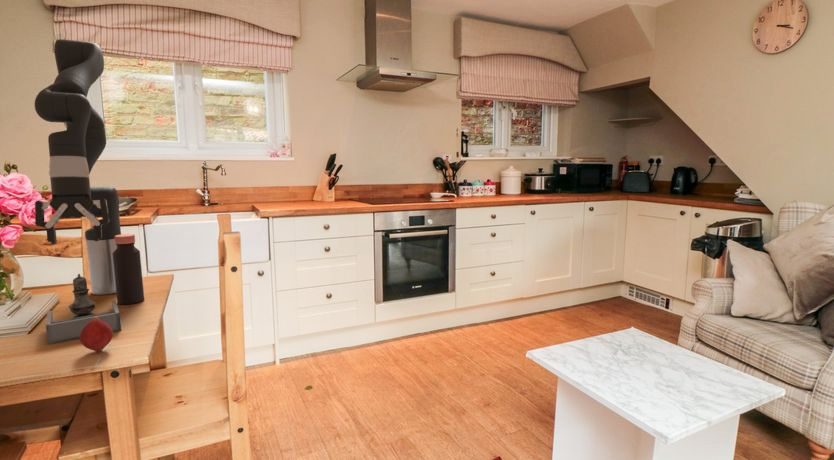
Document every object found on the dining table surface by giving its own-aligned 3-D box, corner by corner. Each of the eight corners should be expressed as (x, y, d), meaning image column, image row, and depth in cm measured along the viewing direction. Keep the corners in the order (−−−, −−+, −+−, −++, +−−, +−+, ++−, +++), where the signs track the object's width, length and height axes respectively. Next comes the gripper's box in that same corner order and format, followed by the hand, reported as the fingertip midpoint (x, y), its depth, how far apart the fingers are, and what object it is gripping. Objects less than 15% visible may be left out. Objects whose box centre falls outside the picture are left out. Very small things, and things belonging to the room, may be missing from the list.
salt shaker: (86, 321, 116) (81, 276, 114) (64, 321, 116) (58, 276, 114) (102, 313, 122) (97, 271, 120) (81, 313, 122) (76, 270, 120)
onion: (78, 359, 94) (74, 323, 93) (86, 348, 100) (82, 314, 98) (111, 354, 97) (107, 319, 96) (116, 344, 102) (113, 310, 101)
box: (49, 328, 111) (47, 311, 110) (117, 316, 120) (115, 300, 119) (48, 344, 102) (45, 325, 101) (121, 330, 110) (119, 312, 109)
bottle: (115, 306, 128) (108, 237, 125) (119, 299, 134) (113, 234, 131) (142, 303, 131) (136, 236, 127) (146, 296, 137) (139, 232, 134)
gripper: (107, 177, 115) (112, 239, 116) (36, 177, 108) (42, 243, 109) (103, 174, 108) (108, 241, 109) (27, 175, 102) (34, 245, 103)
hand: (75, 242), depth 109 cm, fingers open, 8 cm apart
